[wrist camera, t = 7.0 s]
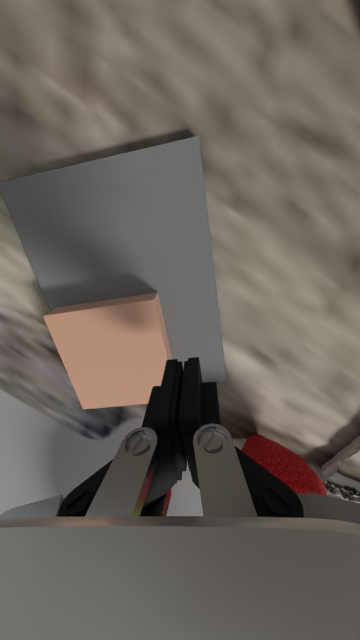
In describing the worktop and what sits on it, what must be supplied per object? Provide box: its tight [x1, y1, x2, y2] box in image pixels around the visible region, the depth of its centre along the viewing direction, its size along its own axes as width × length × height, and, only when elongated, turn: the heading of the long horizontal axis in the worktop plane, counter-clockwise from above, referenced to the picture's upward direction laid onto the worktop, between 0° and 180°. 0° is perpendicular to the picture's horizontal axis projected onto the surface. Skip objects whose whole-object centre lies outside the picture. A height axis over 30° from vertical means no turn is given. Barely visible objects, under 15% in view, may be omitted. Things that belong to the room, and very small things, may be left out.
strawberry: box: [241, 434, 327, 496], centre depth 16 cm, size 6×8×10 cm
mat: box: [0, 136, 227, 383], centre depth 16 cm, size 16×12×1 cm
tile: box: [43, 292, 172, 409], centre depth 17 cm, size 8×2×8 cm
